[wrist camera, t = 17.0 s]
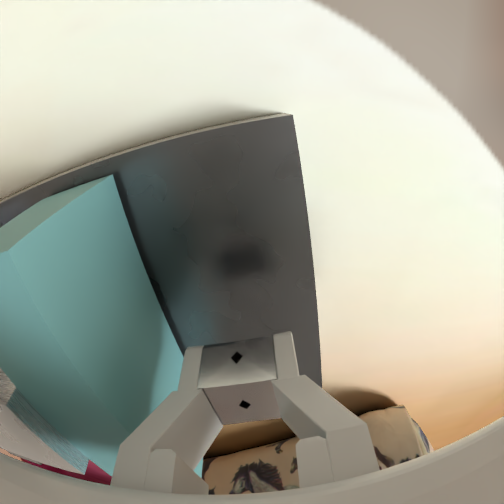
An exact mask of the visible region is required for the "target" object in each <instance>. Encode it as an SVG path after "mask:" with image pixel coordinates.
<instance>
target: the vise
mask: <svg viewBox="0 0 504 504" xmlns="http://www.w3.org/2000/svg"><path fill="white" fill-rule="evenodd" d="M112 174H113V177H114V181H115V184H116V187H117V190H118V194H119V197H120V200H121V203H122V206H123V209H124V212H125V215H126V218H127V221H128V224H129V227H130V230H131V233H132V235H133V238H134V241H135V244H136V246H137V249H138V252H139V254H140V257H141V260H142V262H143V265H144V268H145V270H146V273H147V275H148V278H149V280H150V283H151V285H152V288H153V290H154V292H155V295H156V297H157V300H158V302H159V304H160V307H161V309H162V311H163V314H164V316H165V318H166V320H167V323H168V325H169V327H170V329H171V332H172V334H173V336H174V338H175V340H176V342H177V345H178V347H179V349H180V351H181V353H182V355H183V357H184V354H185V351H186V349H187V348H188V347H194V346H204V345H210V344H219V343H227V342H235V341H241V340H247V339H253V338H259V337H264V336H270V335H274V334H279V333H284V332H289V331H291V332H292V336H293V341H294V347H295V353H296V358H297V364H298V370H299V375H306V376H307V377H309V378H310V379H311V380H312V381H313V382H315V383H316V384H317V385H318V386H320V387H321V388H322V376H321V357H320V340H319V326H318V312H317V300H316V289H315V278H314V267H313V258H312V248H311V239H310V231H309V222H308V214H307V206H306V199H305V191H304V184H303V177H302V170H301V163H300V156H299V150H298V144H297V137H296V131H295V125H294V120H293V115H291V114H286V113H281V114H274V115H268V116H262V117H256V118H251V119H245V120H240V121H235V122H230V123H225V124H220V125H216V126H211V127H207V128H202V129H198V130H194V131H190V132H186V133H182V134H178V135H174V136H171V137H167V138H163V139H160V140H156V141H153V142H149V143H146V144H142V145H139V146H136V147H133V148H129V149H126V150H123V151H120V152H117V153H114V154H111V155H108V156H105V157H102V158H100V159H97V160H94V161H91V162H88V163H86V164H83V165H80V166H78V167H75V168H73V169H70V170H68V171H65V172H63V173H60V174H58V175H55V176H53V177H50V178H48V179H46V180H43V181H41V182H39V183H37V184H34V185H32V186H30V187H28V188H26V189H23V190H21V191H19V192H17V193H15V194H13V195H11V196H9V197H7V198H5V199H3V200H1V201H0V228H1V227H2V226H3V225H5V224H6V223H8V222H9V221H11V220H12V219H13V218H15V217H16V216H18V215H19V214H21V213H22V212H24V211H25V210H27V209H28V208H30V207H31V206H33V205H34V204H36V203H38V202H39V201H41V200H42V199H45V198H47V197H50V196H52V195H55V194H57V193H60V192H63V191H66V190H68V189H71V188H74V187H77V186H79V185H82V184H85V183H88V182H91V181H94V180H97V179H100V178H103V177H106V176H109V175H112ZM8 452H9V451H8ZM9 453H10V454H13V455H15V456H18V457H20V458H23V459H26V460H28V461H31V462H34V463H37V464H40V465H42V463H40V462H37V461H34V460H31V459H28V458H25V457H23V456H20V455H17V454H15V453H12V452H9Z"/></svg>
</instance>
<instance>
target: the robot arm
mask: <svg viewBox="0 0 504 504" xmlns="http://www.w3.org/2000/svg"><path fill="white" fill-rule="evenodd" d="M278 418H282V420H283V421H284V422H285V423H286V424H287V425H288V427H289V428H290V429H291V430H292V431H293V432H294V433H295V434H296V435H297V437H298V438H299V439H300V440H299V441H298V443H297V444H296V455H297V465H298V475H299V486H300V488H297V489H290V490H282V491H273V492H263V493H249V494H227V495H208V492H209V485H208V484H207V483H206V482H205V481H204V480H203V479H202V478H201V477H199V476H198V475H197V474H196V473H195V472H194V469H195V468H196V466H197V465H198V464H199V462H200V461H201V459H202V458H203V456H204V455H205V453H206V452H207V450H208V449H209V447H210V446H211V444H212V443H213V441H214V440H215V438H216V437H217V435H218V434H219V432H220V431H221V429H222V428H223V425H226V424H235V423H243V422H251V421H261V420H270V419H278ZM0 504H504V416H503V417H501V418H500V419H498V420H496V421H494V422H493V423H491V424H489V425H487V426H485V427H484V428H482V429H480V430H478V431H476V432H474V433H472V434H470V435H468V436H466V437H464V438H462V439H460V440H458V441H456V442H454V443H451V444H449V445H447V446H445V447H442V448H440V449H438V450H435V451H433V452H430V453H428V454H425V455H423V456H420V457H418V458H415V459H412V460H410V461H407V462H404V463H401V464H398V465H395V466H392V467H389V468H386V469H382V470H380V469H379V465H378V461H377V458H376V454H375V451H374V447H373V444H372V440H371V437H370V433H369V430H368V426H367V423H365V422H364V421H363V420H361V419H360V418H359V417H357V416H356V415H355V414H354V413H352V412H351V411H350V410H348V409H347V408H346V407H345V406H343V405H342V404H341V403H340V402H338V401H337V400H336V399H334V398H333V397H332V396H331V395H329V394H328V393H327V392H326V391H324V390H323V389H322V388H321V387H320V386H318V385H317V384H316V383H315V382H313V381H312V380H311V379H310V378H309V377H307V376H306V375H299V370H298V364H297V358H296V353H295V347H294V341H293V336H292V332H291V331H289V332H284V333H279V334H274V335H270V336H264V337H259V338H253V339H247V340H241V341H235V342H227V343H219V344H210V345H204V346H194V347H188V348H187V349H186V351H185V354H184V359H183V364H182V369H181V374H180V379H179V385H178V390H177V391H172V392H171V393H170V394H169V395H168V397H167V398H166V399H165V400H164V401H163V402H162V403H161V404H160V405H159V406H158V407H157V408H156V409H155V410H154V411H153V412H152V413H151V414H150V415H149V416H148V417H147V418H146V419H145V420H144V421H143V422H142V423H141V424H140V425H139V426H138V427H137V428H136V429H135V430H134V431H133V432H132V433H131V434H130V435H129V436H128V437H127V438H126V439H125V440H124V441H123V442H122V443H121V444H120V447H119V451H118V455H117V459H116V463H115V467H114V471H113V475H112V480H111V484H110V485H105V484H100V483H95V482H90V481H86V480H81V479H77V478H73V477H70V476H66V475H62V474H59V473H55V472H52V471H49V470H46V469H42V468H39V467H36V466H33V465H31V464H28V463H25V462H22V461H20V460H17V459H14V458H12V457H9V456H7V455H5V454H2V453H0Z"/></svg>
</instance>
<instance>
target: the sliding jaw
mask: <svg viewBox="0 0 504 504" xmlns="http://www.w3.org/2000/svg"><path fill="white" fill-rule="evenodd" d="M183 359H184V357H183V355H182V353H181V351H180V349H179V347H178V345H177V342H176V340H175V338H174V336H173V334H172V332H171V329H170V327H169V325H168V323H167V320H166V318H165V316H164V314H163V311H162V309H161V307H160V304H159V302H158V300H157V297H156V295H155V292H154V290H153V288H152V285H151V283H150V280H149V278H148V275H147V273H146V270H145V268H144V265H143V262H142V260H141V257H140V254H139V252H138V249H137V246H136V244H135V241H134V238H133V235H132V233H131V230H130V227H129V224H128V221H127V218H126V215H125V212H124V209H123V206H122V203H121V200H120V197H119V194H118V190H117V187H116V184H115V181H114V177H113V174H112V175H109V176H106V177H103V178H100V179H97V180H94V181H91V182H88V183H85V184H82V185H79V186H77V187H74V188H71V189H68V190H66V191H63V192H60V193H57V194H55V195H52V196H50V197H47V198H45V199H42V200H41V201H39V202H38V203H36V204H34V205H33V206H31V207H30V208H28V209H27V210H25V211H24V212H22V213H21V214H19V215H18V216H16V217H15V218H13V219H12V220H11V221H9V222H8V223H6V224H5V225H3V226H2V227H1V228H0V368H1V369H2V370H3V372H4V373H5V374H6V375H7V377H8V378H9V379H10V380H11V382H12V383H13V384H14V385H15V386H16V388H17V389H18V390H19V391H20V392H21V393H22V395H23V396H24V397H25V398H26V399H27V400H28V401H29V402H30V404H31V405H32V406H33V407H34V408H35V409H36V410H37V411H38V412H39V413H40V414H41V415H42V416H43V417H44V418H45V419H46V420H47V421H48V422H49V423H50V424H51V425H52V426H53V427H54V428H55V429H56V430H57V431H58V432H59V433H60V434H61V435H62V436H63V437H64V438H65V439H67V440H68V441H69V442H70V443H71V444H72V445H73V446H74V447H76V448H77V449H78V450H79V451H80V452H81V453H83V454H84V455H85V456H86V457H87V458H89V459H90V460H91V461H92V462H94V463H95V464H96V465H97V466H99V467H100V468H101V469H103V470H104V471H105V472H106V473H108V474H109V475H111V476H112V475H113V471H114V467H115V463H116V459H117V455H118V451H119V447H120V444H121V443H122V442H123V441H124V440H125V439H126V438H127V437H128V436H129V435H130V434H131V433H132V432H133V431H134V430H135V429H136V428H137V427H138V426H139V425H140V424H141V423H142V422H143V421H144V420H145V419H146V418H147V417H148V416H149V415H150V414H151V413H152V412H153V411H154V410H155V409H156V408H157V407H158V406H159V405H160V404H161V403H162V402H163V401H164V400H165V399H166V398H167V397H168V395H169V394H170V393H171V392H172V391H177V390H178V385H179V379H180V374H181V369H182V364H183ZM202 464H203V458H202V459H201V461H200V462H199V464H198V465H197V466H196V468H195V469H194V472H195V473H196V474H197V475H198V476H199V477H201V478H202Z"/></svg>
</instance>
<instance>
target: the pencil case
mask: <svg viewBox="0 0 504 504" xmlns="http://www.w3.org/2000/svg"><path fill="white" fill-rule="evenodd" d="M358 417H359V418H360V419H361V420H363V421H364V422H365V423H367V426H368V430H369V433H370V437H371V440H372V444H373V447H374V451H375V454H376V458H377V461H378V465H379V469H380V470H382V469H386V468H389V467H392V466H395V465H398V464H401V463H404V462H407V461H410V460H412V459H415V458H418V457H420V456H423V455H425V454H428V453H430V452H433V451H434V449H433V448H432V446H431V444H430V442H429V440H428V439H427V437H426V436H425V434H424V433H423V431H422V430H421V428H420V427H419V425H418V424H417V423H416V422H415V421H414V420H413V419H412V418H411V417H410V415H409V413H408V412H407V410H406V408H405V407H404V405H399V406H394V407H388V408H386V409H383V410H375V411H371V412H367V413H365V414H362V415H360V416H358ZM299 440H300V439H299V438H298V437H294V438H290V439H286V440H282V441H279V442H276V443H272V444H269V445H265V446H261V447H257V448H252V449H247V450H243V451H239V452H236V453H233V454H229V455H225V456H219V457H213V458H208V459H203V464H202V479H203V480H204V481H205V482H206V483H207V484H208V485H209V492H208V495H227V494H249V493H263V492H273V491H282V490H290V489H297V488H300V486H299V475H298V465H297V455H296V444H297V443H298V441H299Z"/></svg>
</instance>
